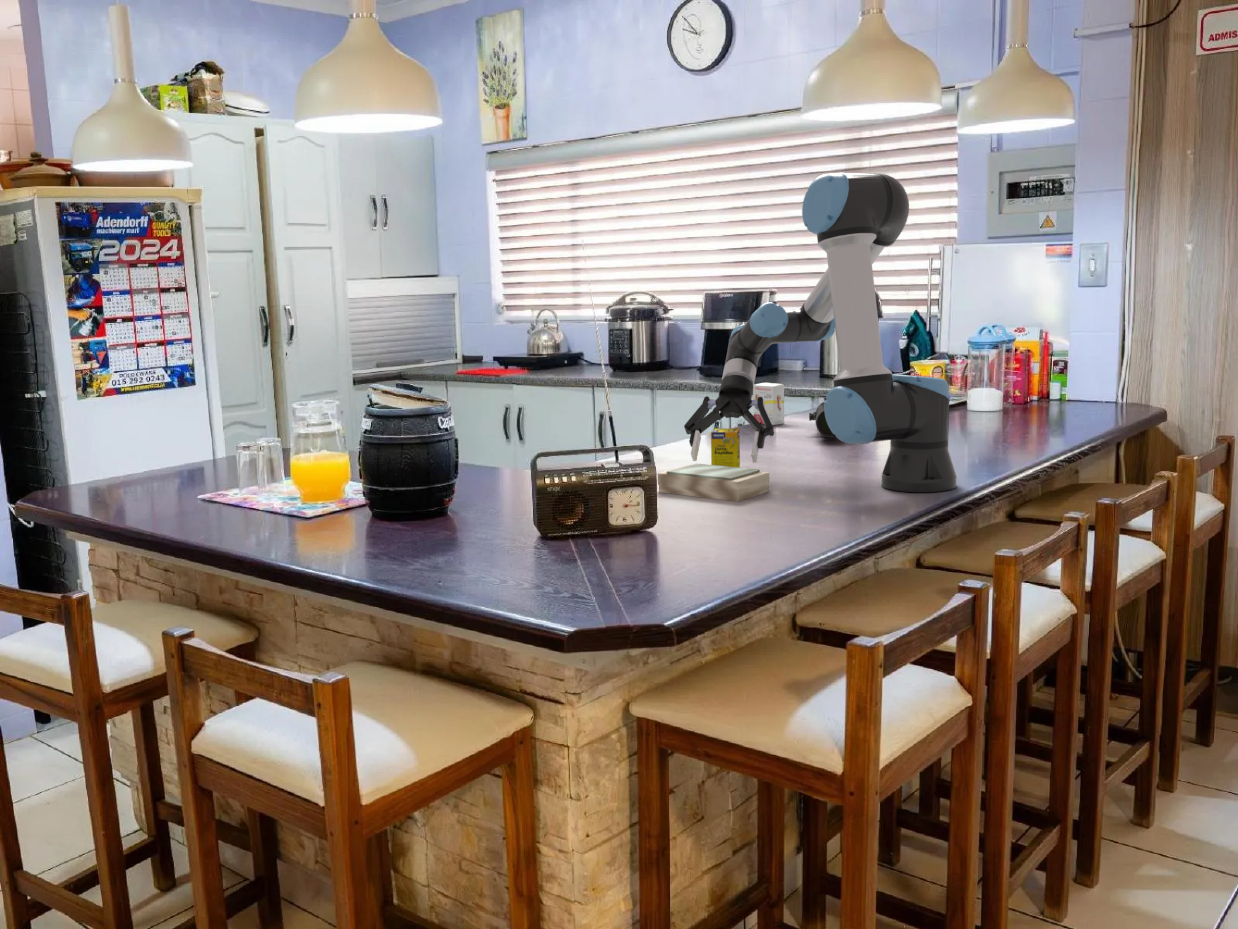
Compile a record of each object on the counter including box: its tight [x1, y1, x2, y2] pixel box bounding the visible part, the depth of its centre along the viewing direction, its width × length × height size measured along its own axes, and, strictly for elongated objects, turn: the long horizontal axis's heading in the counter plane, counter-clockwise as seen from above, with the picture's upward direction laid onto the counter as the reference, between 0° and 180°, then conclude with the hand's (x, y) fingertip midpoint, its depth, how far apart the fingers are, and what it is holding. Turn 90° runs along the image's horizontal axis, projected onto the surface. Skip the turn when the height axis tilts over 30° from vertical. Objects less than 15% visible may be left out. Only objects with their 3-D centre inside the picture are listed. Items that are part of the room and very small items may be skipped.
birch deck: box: [657, 463, 770, 502], centre depth 234 cm, size 20×12×4 cm, turn 51°
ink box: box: [752, 382, 785, 426], centre depth 334 cm, size 9×5×12 cm, turn 39°
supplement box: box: [710, 427, 741, 468], centre depth 248 cm, size 6×6×11 cm
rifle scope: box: [808, 396, 837, 439], centre depth 307 cm, size 10×26×10 cm, turn 172°
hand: (723, 458), depth 246 cm, fingers open, 13 cm apart
